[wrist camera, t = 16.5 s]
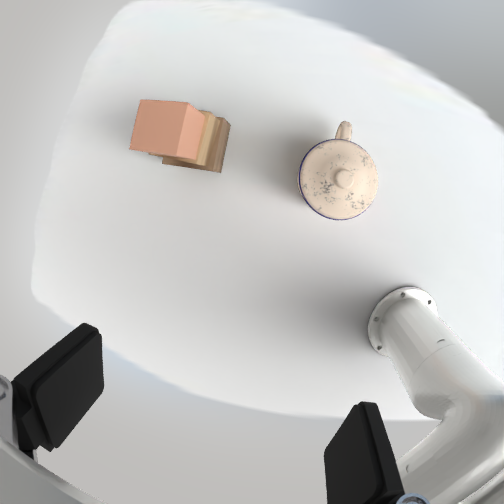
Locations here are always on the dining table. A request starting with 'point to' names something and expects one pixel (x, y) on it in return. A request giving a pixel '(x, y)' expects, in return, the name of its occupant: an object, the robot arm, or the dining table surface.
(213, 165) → the tower base
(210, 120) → the block
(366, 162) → the teacup with lid
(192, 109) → the terracotta block
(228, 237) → the dining table surface
